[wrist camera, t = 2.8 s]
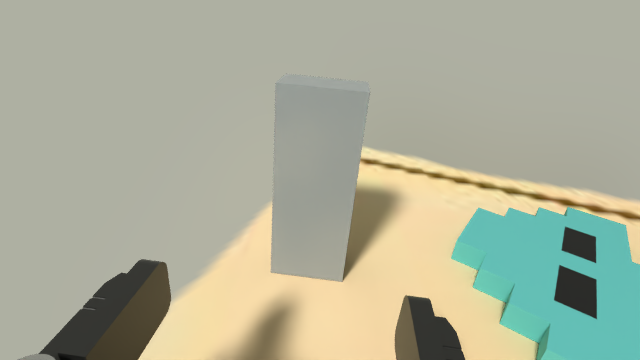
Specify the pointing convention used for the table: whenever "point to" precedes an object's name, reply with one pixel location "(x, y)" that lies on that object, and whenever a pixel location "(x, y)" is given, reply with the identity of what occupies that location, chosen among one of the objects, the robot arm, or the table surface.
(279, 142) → the grey rectangular block
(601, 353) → the alien figure
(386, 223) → the table surface
